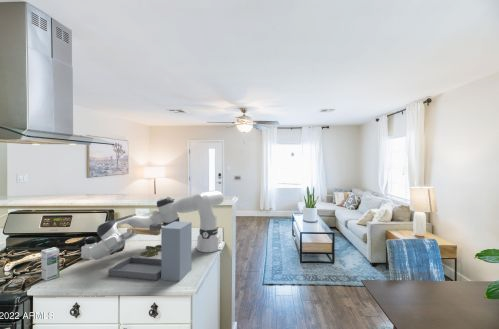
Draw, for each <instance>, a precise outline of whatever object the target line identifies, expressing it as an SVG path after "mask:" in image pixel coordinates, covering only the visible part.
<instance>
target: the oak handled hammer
mask: <svg viewBox="0 0 499 329" xmlns="http://www.w3.org/2000/svg"><path fill="white" fill-rule="evenodd" d="M162 224H163V223H153V224H151V225H150V229H148V228H133V227H132V226H130V227H128V228H127V229H126V232H129V231H131V230H133V232H134V233H133V234H137V235H143V236H144V235H146V236H160V235H161V228H162V227H163V226H162Z"/></svg>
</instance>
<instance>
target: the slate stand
mask: <svg viewBox="0 0 499 329" xmlns="http://www.w3.org/2000/svg"><path fill="white" fill-rule="evenodd" d="M192 228H193V227H192V221H180V222H177V221H174V222H172V223H170V224H168V225H166V226H162V228H161V234H160V235H161V238H160V239H161V240H160V243H161V244H160V245H161V251H160V253H161V254H160V256H161V257H160V259H161V278H160V279H161V280H163V281H164V280H165V281H172V282H181V281H183V279H184V278H185V277H186V275H187V274H188V273H190V272H191V271H192V240H193V239H192V232H193V230H192ZM187 276H188V275H187Z"/></svg>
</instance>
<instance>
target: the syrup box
mask: <svg viewBox="0 0 499 329" xmlns="http://www.w3.org/2000/svg"><path fill="white" fill-rule="evenodd" d="M40 255H41V256H40V257H41V258H40V260H41V279H42V280H45V282H47V281H50V280H53V279H56V278H60V274H61V273H60V248H58V247H56V246H55V247H51V248H46V249H41V251H40Z"/></svg>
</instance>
